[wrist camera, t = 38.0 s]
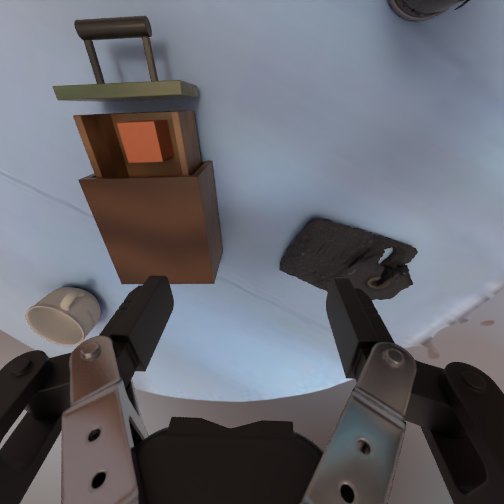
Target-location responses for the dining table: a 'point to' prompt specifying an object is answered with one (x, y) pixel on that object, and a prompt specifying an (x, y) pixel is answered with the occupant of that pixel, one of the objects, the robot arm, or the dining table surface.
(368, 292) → the dark slate chunk
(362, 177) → the dining table surface
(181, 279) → the cabinet
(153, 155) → the block
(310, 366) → the dining table surface
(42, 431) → the robot arm
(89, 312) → the teacup
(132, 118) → the drawer
